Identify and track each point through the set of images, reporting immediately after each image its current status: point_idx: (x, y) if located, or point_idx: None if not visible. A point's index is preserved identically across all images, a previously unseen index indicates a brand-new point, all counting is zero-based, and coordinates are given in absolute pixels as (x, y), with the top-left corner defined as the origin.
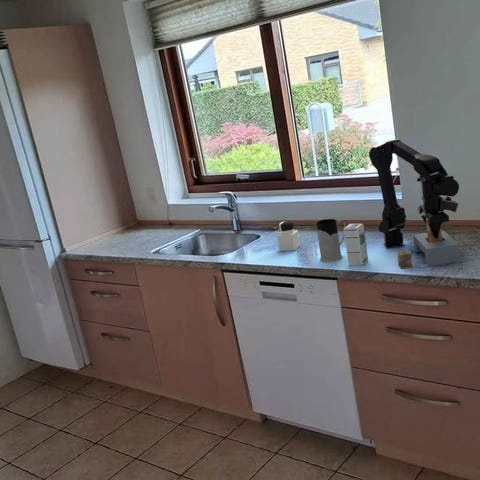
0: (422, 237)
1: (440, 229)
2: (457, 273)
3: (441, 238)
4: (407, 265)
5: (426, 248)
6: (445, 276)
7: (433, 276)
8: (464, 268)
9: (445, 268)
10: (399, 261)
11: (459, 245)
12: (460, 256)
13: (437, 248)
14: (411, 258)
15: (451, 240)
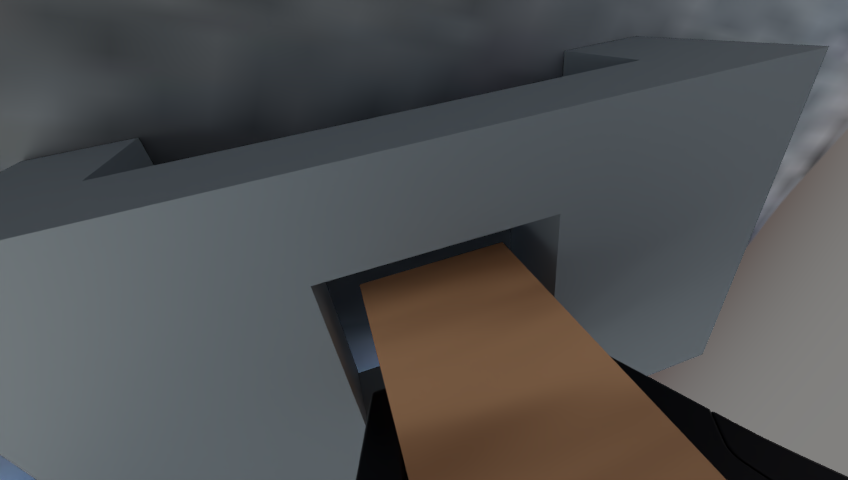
0: (319, 465)
1: (641, 400)
2: (812, 99)
3: (535, 282)
4: None
5: (686, 357)
6: (797, 171)
7: (755, 230)
8: (779, 34)
9: None
10: None
11: (812, 48)
12: (674, 38)
13: (723, 279)
14: None
15: (609, 142)
